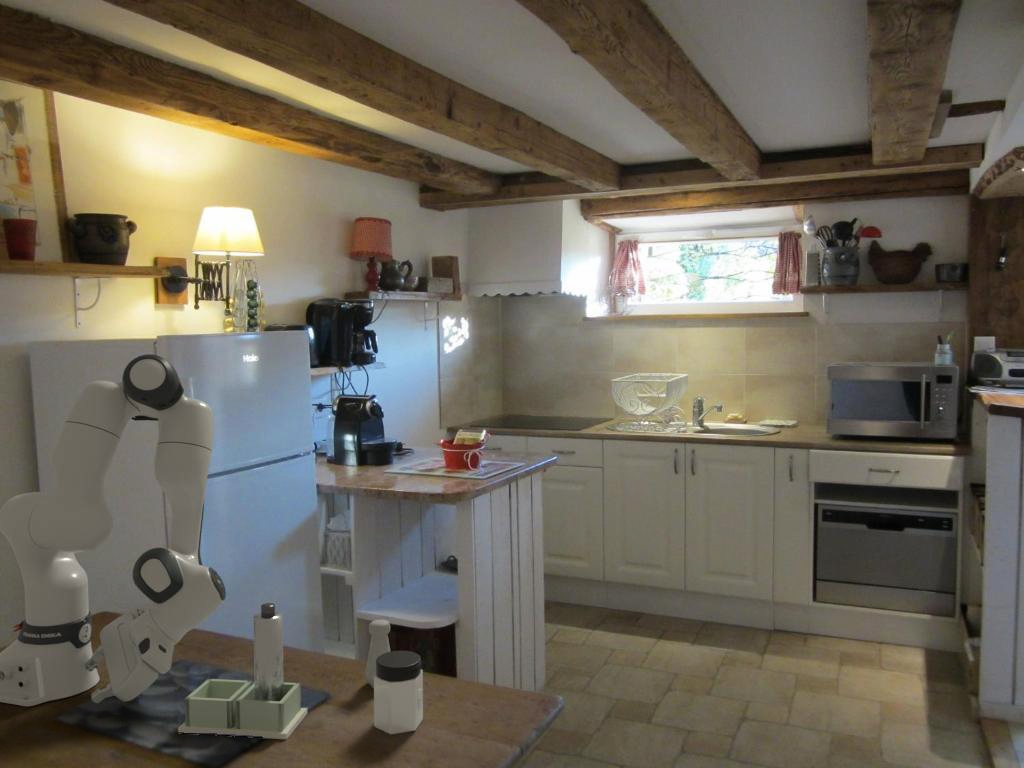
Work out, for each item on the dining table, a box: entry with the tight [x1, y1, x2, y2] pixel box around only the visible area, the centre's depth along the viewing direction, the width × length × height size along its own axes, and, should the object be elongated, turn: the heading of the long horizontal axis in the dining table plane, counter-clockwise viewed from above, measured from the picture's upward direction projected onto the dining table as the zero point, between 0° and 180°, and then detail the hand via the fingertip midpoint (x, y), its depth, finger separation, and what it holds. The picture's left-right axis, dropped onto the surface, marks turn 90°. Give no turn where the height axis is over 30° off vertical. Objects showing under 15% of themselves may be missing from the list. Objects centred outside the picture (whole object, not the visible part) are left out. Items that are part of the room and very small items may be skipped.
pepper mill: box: [253, 602, 284, 701], centre depth 145 cm, size 5×5×21 cm
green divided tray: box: [177, 678, 308, 740], centre depth 146 cm, size 20×10×6 cm, turn 84°
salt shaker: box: [364, 619, 391, 689], centre depth 163 cm, size 6×6×13 cm
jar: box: [373, 650, 424, 735], centre depth 146 cm, size 9×8×12 cm
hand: (90, 683), depth 156 cm, fingers open, 8 cm apart
